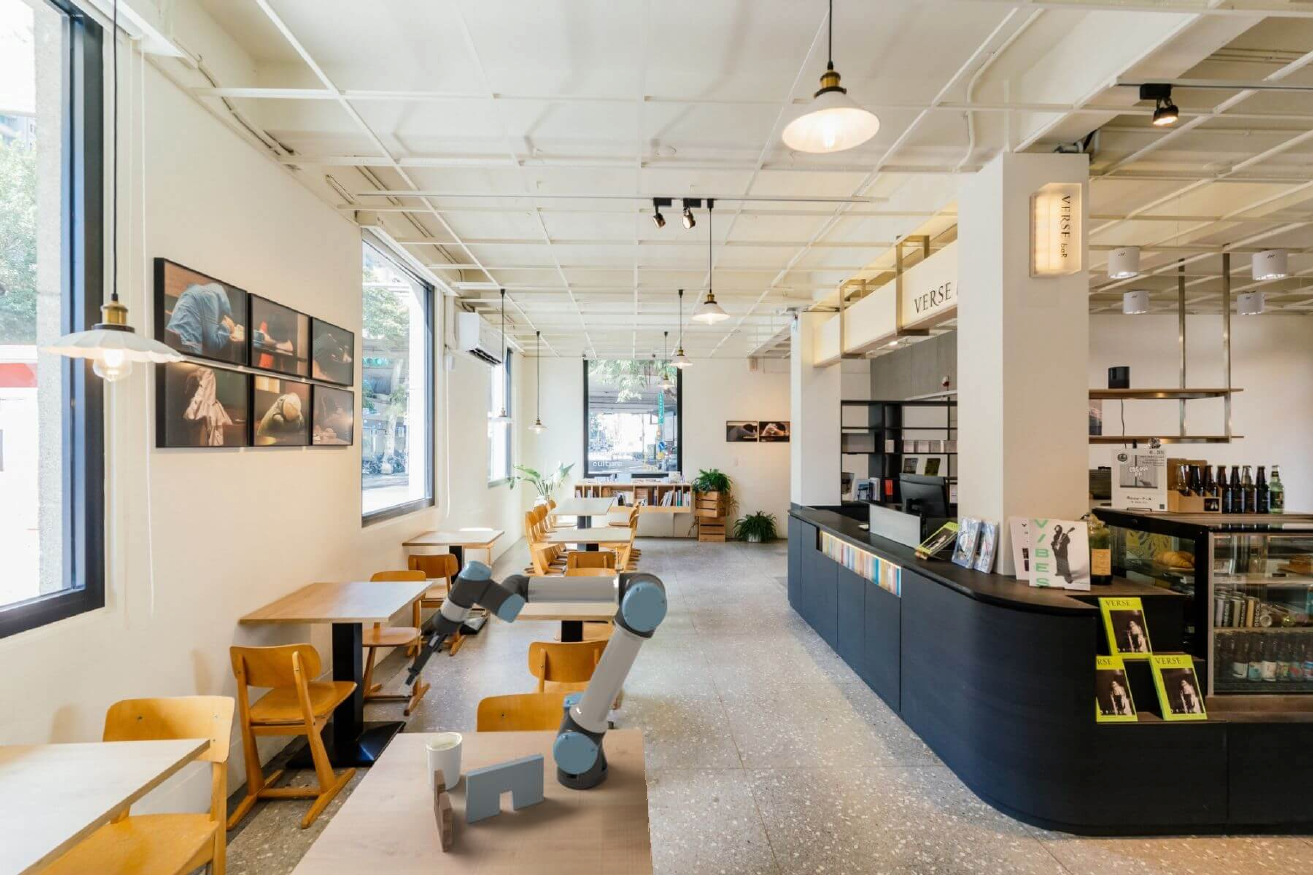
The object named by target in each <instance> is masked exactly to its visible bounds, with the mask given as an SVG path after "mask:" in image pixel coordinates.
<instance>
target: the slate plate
mask: <svg viewBox="0 0 1313 875" xmlns="http://www.w3.org/2000/svg"><path fill="white" fill-rule="evenodd" d="M544 765H545V757H544V755H543V753H540V752H539V753H536V754H532V755H528V756H524V757H520V758H515V759H512V760H507V761H504V762H500V763H496V764H495V763H494V764H492V765H489V766H485V767H480V768H477V769H476V768H475V769H472V770H468V771H466V772H465V773H466V774H465V775H466V778H465V780H466V782H465V784H466V785H465V791H466V792H465V820H466V823H467V824H470V823H474V822H477V821H481V820H484V819H487V818H491V817H495V816H498V815H500V814H501V794H504V793H508V792H511V795H510V797H511V799H510V800H511V801H510V805H511V807H512V810H513V811H515V810H518V809H521V808H525V807H528V806H532V805H535V804H538V803H542V802H544V780H545V779H544V777H545V776H544V775H545V774H544V773H545V772H544V771H545V766H544Z"/></svg>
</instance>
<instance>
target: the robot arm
mask: <svg viewBox="0 0 1313 875" xmlns="http://www.w3.org/2000/svg"><path fill="white" fill-rule="evenodd" d="M492 573H493V572H492V569H491V568H490V567H489V566H488V565H487V564H486V563H483V562H482V561H481V562H480V561H478V560H470V561H467V562H466V564H465V565H464V567H463V568H462V569H461V571H460V572H459V573H458V576H457V577H456V579H455V581H454V582H453V584H452V586H451V588H450V590H449V592H448V593H447V595H446V596H443V597H442V600H443V602H442V604H441V605H440V607H439V609H438V610H437V611H436V613H435V615H434V617H433V619H432V624H433V626H434V627H435V629H434V630H433V631H432V632H431V634H430V635H429V638H428V640H426V643H425V644H424V647H423V648H422V650H421V651H420V653H419V654H418V656H417V658H416V659H415V660H414V662H413V664H412V665H411V667H407V669H406V670H407V671H408V672H407V675H406V677H405V678H404V680H403V681H402V683H401V685H400V687H399V689H398V690H397V693H399V694H401V695H402V696H405V697H407V698H408V695H409V694H410V692H411V690H412V688H413V687H414V685H415V684H416V682H417V681H418V679H419V677H420V675H421V673H422V674H424V675H426V674H427V673H428V671H429V669H430V667H431V665H432V664H433V662H434V660H435V659H436V657H437V655H438V654H441V653H442V652H443V649H442V647H444V644H445V642H446V640H447V639H448V637H449V636H450V635H454V634H457V633H458V632H459V631H460V629H461V627H462V626H463V624H464V621H465V620H466V619H467V618H468V616H469V614H470V612H471V610H472V609H473V607H474V604H475V605H476V606H478V607H480V608H482V609H483V610H485V611H487V612H489V613H490V614H492V615H493V616H495V617H497V618H498V619H500V620H502V621H505V622H506V623H509V624H512V623H514V622H515V621H516V620H517V617H519V615H520V613H521V611H522V610H523V608H524V606H525V604H554V603H555V604H575V603H576V604H611V603H612V604H613V603H614V604H615V605H616V606H617V607H618V608H617V611H616V613H615V614H614V616H613V621H614V624H615V627H614V630H613V631H612V634H611V635H610V637H609V640H608V641H607V644H606V646H605V648H604V650H603V652H602V654H601V657H600V659H599V660H598V663H597V665H596V666H595V669H594V671H593V673H592V675H591V678H590V679H589V681H588V683H587V686H586V687H585V689H584V691H582V692H581V691H579V692H573V693H570V694H568V695H566V696H565V697H564V699H563V705H562V709H563V712H562V713H563V714H562V715H563V716H562V719H561V723H560V726H559V728H558V731H557V735H556V738H555V739H554V742H553V746H552V747H553V750H552V755H553V759H554V761H555V763H556V765H557V767H556V779H557V781H558V782H559V783H560V784H561V785H563V786H564V787H566V788H569V789H574V790H575V789H576V790H579V789H580V790H583V789H589V788H593V787H594V788H595V787H596V786H598V785H600V784H601V783H603V782H604V781H606V779H607V777H609V776H608V775H609V763H608V759H607V756H606V752H605V750H604V746H603V740H604V737H605V736H606V733H607V731H608V729H609V721H608V720H607V718H608V716H609V715H610V712H611V710H612V708H613V706H614V704H615V702H616V700H617V697H618V695H619V693H620V691H621V689H622V687H623V685H624V683H625V681H626V679H627V677H628V675H629V673H630V671H631V669H632V667H633V664H634V662H635V661H636V659H637V656H638V654H639V652H640V651H641V647H642V646H643V644H644V642H646V641H648V640H650V639H652V638H653V635H654V634H655V632H656V630H657V628H658V626H660V625H661V624H662V622H663V621H664V620H665V617H666V615H667V611H668V600H667V597H666V596H667V595H666V587H665V585H664V582H663V581H662V580H661V578H659V577H658V576H657V575H655V574H653V573H649V572H644V571H643V572H642V571H641V572H618V573H617V574H616V575H615V576H524V575H522V574H521V573H513V574H511V575H510V576H507V577H506V578H505V579H504V580H503V581H502V582H501V583H498V582H496V581H495V580H493V579H492V577H491V576H492Z"/></svg>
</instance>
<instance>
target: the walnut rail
mask: <svg viewBox="0 0 1313 875" xmlns="http://www.w3.org/2000/svg"><path fill="white" fill-rule="evenodd" d="M449 794H450V793H449V792H448V791H447V790H446V782H445V778H444V774H443V770H442V769H441V770H436V771H434V790H433V811H434V815H435V821H436V825H437V831H438V836H439V841H440V846H441V851H442V852H446V851H450V850H452V836H453V835H452V832H453V831H452V829H453V828H452V826H453V825H452V823H453V822H452V821H453V818H452V817H453V816H452V813H453V812H452V811H453V807H452V804H451V802H452V801H451V799H450V796H449Z"/></svg>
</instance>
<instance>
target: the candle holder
mask: <svg viewBox="0 0 1313 875" xmlns="http://www.w3.org/2000/svg"><path fill="white" fill-rule="evenodd" d="M463 738H464V737H463V736H462V735H461V734H460V733H458V732H453V731H452V732H451V731H449V732H447V731H446V732H443V733H439V734H436V735H434V736H432V737H430V738H429V739H428V740H427V742H426V745H425V746H426V747H425V748H426V756H427V757H426V759H427V776H428V777H427V779H428V787H429V789H431V791H434V771H436V770H441V769H442V770H443V774H444V778H445V782H446V791H447V790H450V789H451V790H452V789H453V788H454V787H455V786H457V785H458V784H459V782H460V779H461V778H460V777H461V768H462V767H461V765H462V764H461V763H462V762H461V761H462V752H463V750H462V749H463Z"/></svg>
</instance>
